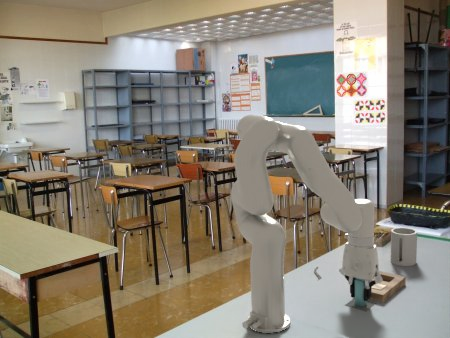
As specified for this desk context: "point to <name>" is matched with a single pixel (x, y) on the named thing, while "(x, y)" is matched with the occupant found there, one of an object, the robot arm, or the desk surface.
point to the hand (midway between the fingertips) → (360, 297)
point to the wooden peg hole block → (387, 286)
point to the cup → (403, 246)
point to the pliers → (318, 274)
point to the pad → (365, 308)
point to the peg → (359, 292)
